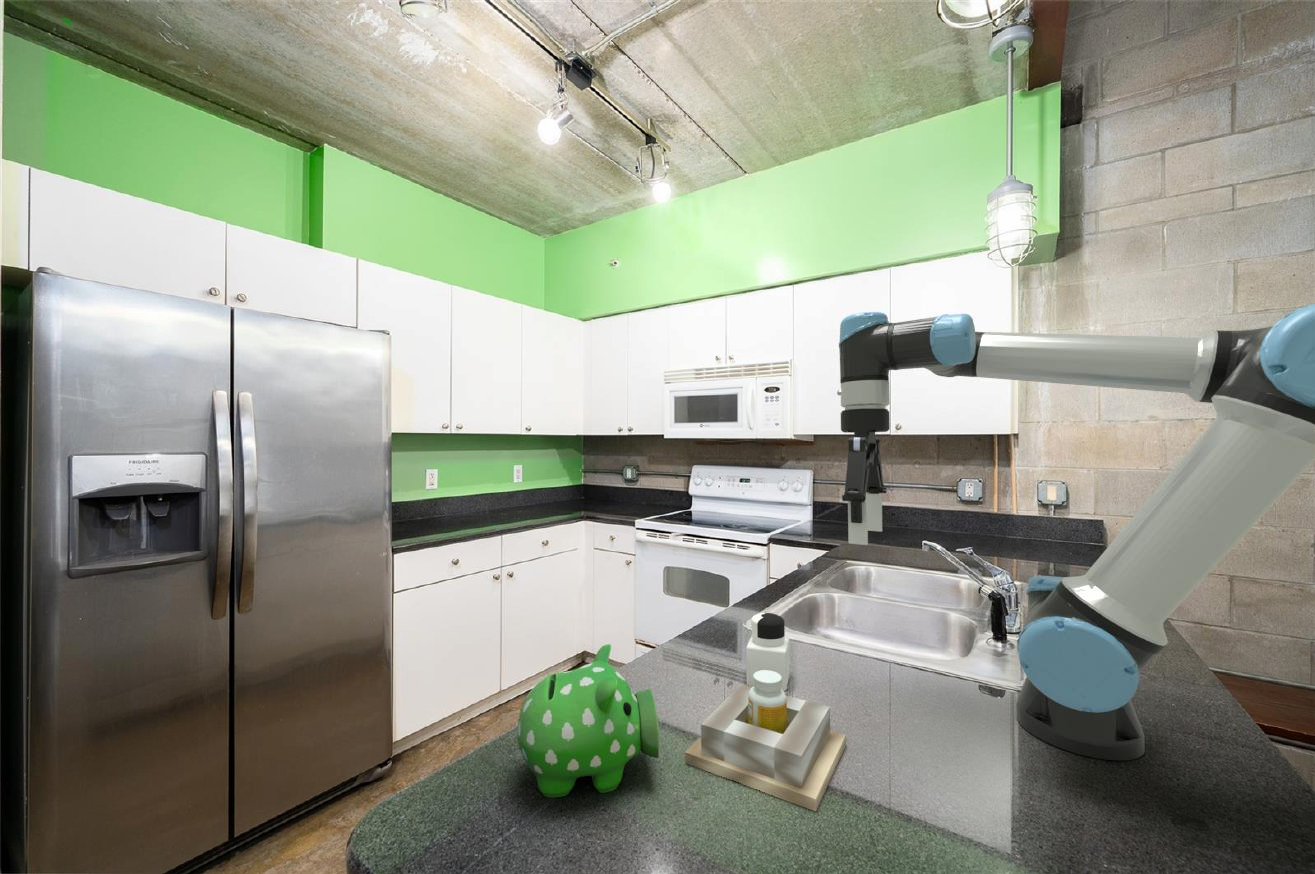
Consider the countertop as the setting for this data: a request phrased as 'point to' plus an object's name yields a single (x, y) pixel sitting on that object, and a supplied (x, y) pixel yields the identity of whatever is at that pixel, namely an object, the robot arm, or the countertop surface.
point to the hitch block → (771, 749)
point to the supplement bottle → (767, 702)
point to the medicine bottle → (768, 648)
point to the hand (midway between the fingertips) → (866, 537)
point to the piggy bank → (586, 727)
